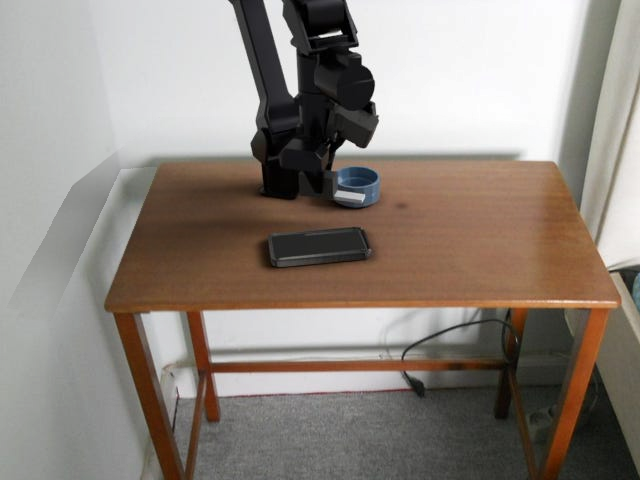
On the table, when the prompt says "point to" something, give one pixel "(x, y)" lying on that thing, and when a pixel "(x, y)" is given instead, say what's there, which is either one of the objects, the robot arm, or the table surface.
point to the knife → (328, 189)
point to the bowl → (359, 184)
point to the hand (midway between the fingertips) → (321, 188)
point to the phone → (318, 246)
